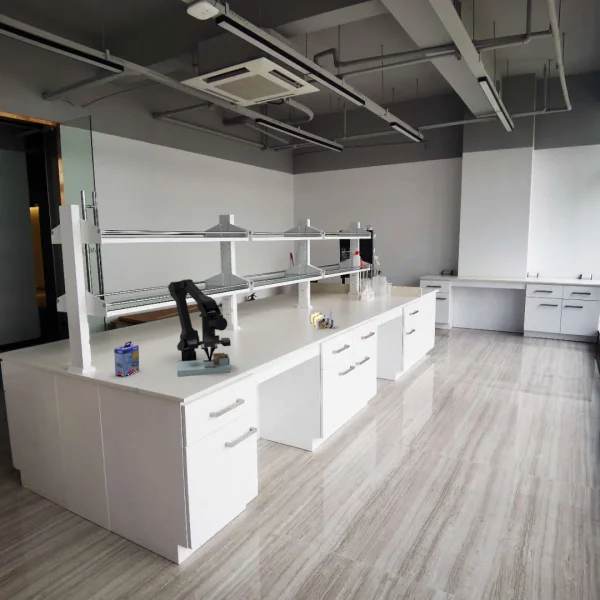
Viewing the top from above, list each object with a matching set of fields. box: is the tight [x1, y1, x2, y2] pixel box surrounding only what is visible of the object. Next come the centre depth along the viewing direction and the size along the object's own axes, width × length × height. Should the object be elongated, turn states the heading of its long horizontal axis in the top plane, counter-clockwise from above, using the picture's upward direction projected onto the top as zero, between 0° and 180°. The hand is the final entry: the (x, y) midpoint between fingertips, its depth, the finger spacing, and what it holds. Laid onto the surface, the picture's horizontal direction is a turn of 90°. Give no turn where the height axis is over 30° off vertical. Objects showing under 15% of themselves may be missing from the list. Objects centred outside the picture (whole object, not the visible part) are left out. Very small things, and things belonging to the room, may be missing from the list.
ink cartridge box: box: [113, 340, 140, 377], centre depth 198 cm, size 10×6×14 cm, turn 159°
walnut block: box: [212, 352, 226, 365], centre depth 205 cm, size 5×5×4 cm
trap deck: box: [176, 353, 231, 377], centre depth 203 cm, size 22×15×6 cm, turn 104°
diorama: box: [308, 308, 335, 330], centre depth 300 cm, size 25×10×13 cm, turn 12°
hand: (209, 361), depth 204 cm, fingers closed
